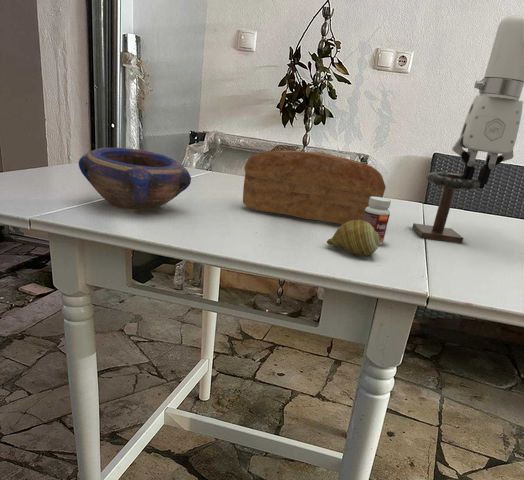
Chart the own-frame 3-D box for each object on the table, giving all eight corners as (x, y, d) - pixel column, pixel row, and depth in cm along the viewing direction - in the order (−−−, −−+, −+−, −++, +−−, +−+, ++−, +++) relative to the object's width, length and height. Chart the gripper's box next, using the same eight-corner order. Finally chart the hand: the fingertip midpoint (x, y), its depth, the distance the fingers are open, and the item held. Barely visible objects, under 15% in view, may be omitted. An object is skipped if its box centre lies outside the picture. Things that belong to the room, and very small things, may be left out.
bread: (247, 201, 121) (254, 141, 115) (376, 223, 117) (390, 161, 111) (234, 209, 110) (241, 143, 104) (376, 234, 106) (391, 167, 100)
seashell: (327, 269, 93) (320, 241, 86) (333, 239, 96) (327, 210, 89) (381, 271, 90) (378, 242, 83) (385, 239, 93) (383, 209, 86)
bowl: (129, 222, 89) (130, 163, 85) (68, 200, 98) (66, 145, 94) (199, 213, 103) (203, 161, 98) (140, 195, 112) (141, 146, 107)
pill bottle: (376, 246, 96) (386, 202, 93) (354, 240, 99) (363, 196, 95) (386, 243, 100) (397, 200, 96) (365, 237, 102) (374, 195, 99)
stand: (450, 233, 117) (467, 174, 111) (462, 243, 109) (481, 180, 103) (412, 228, 117) (427, 168, 111) (421, 237, 109) (438, 174, 103)
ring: (469, 184, 113) (471, 174, 112) (486, 192, 103) (489, 182, 102) (420, 178, 113) (422, 169, 112) (433, 187, 103) (435, 176, 102)
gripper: (466, 84, 96) (440, 184, 105) (549, 95, 97) (516, 194, 105) (455, 85, 103) (431, 179, 111) (532, 96, 103) (502, 189, 111)
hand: (472, 186), depth 108 cm, fingers closed on ring, 2 cm apart
